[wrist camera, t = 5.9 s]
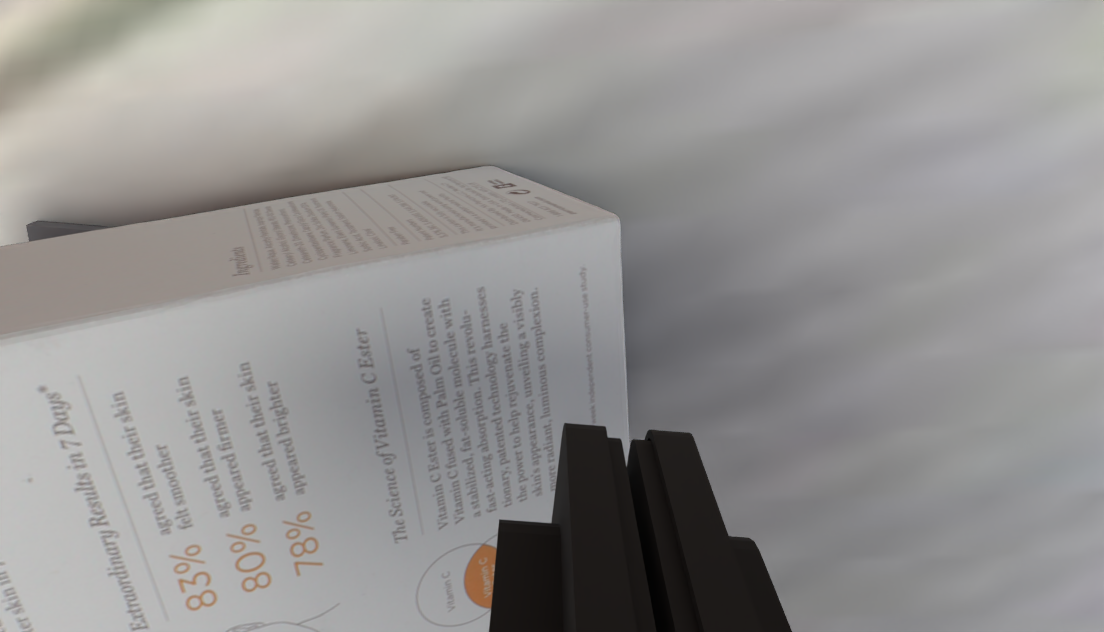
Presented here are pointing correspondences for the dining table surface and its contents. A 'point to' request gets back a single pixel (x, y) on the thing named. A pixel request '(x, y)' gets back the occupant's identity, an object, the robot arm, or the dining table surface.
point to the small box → (299, 405)
